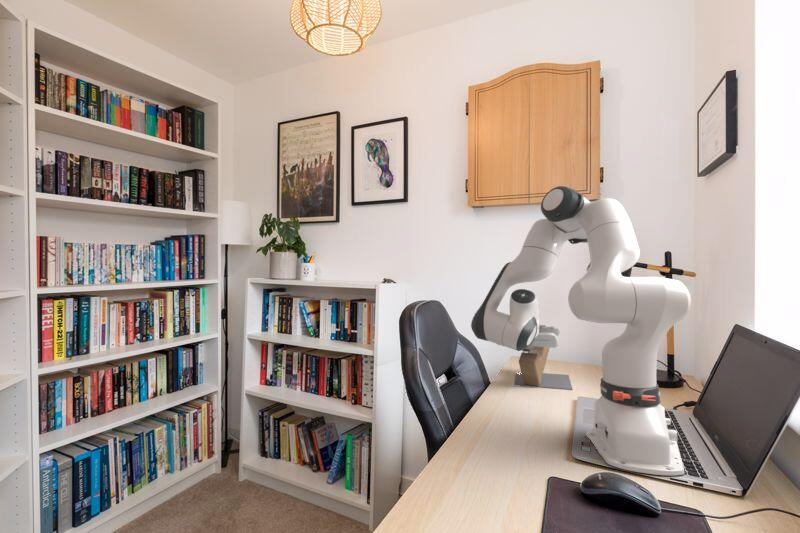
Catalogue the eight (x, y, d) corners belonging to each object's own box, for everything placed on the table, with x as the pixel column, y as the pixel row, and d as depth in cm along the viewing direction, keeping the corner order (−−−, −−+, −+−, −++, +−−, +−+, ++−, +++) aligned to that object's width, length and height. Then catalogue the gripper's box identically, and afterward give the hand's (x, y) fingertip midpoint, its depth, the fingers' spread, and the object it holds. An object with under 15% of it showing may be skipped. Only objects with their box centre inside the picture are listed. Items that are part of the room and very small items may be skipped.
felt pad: (572, 390, 131) (572, 388, 131) (513, 385, 137) (513, 384, 137) (568, 375, 148) (568, 374, 148) (516, 372, 154) (516, 371, 154)
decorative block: (534, 362, 129) (545, 324, 144) (517, 361, 133) (530, 323, 147) (540, 386, 134) (550, 347, 148) (523, 384, 137) (535, 346, 152)
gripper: (558, 319, 126) (558, 343, 135) (494, 318, 133) (497, 341, 142) (560, 335, 122) (559, 359, 131) (493, 333, 129) (496, 356, 138)
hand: (526, 350), depth 137 cm, fingers closed
